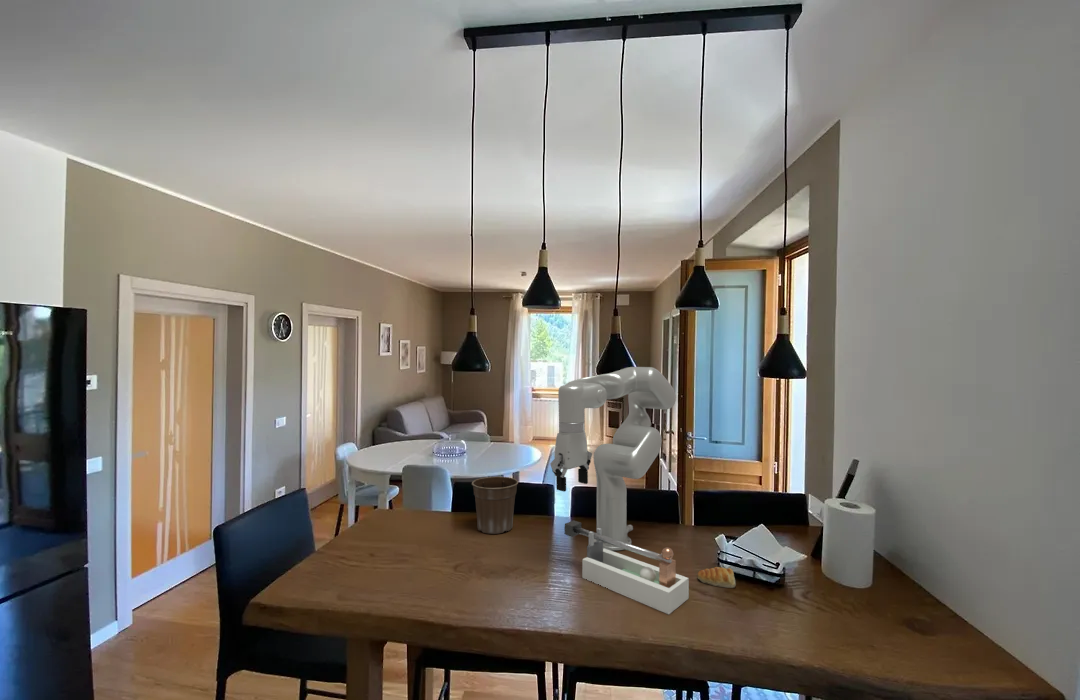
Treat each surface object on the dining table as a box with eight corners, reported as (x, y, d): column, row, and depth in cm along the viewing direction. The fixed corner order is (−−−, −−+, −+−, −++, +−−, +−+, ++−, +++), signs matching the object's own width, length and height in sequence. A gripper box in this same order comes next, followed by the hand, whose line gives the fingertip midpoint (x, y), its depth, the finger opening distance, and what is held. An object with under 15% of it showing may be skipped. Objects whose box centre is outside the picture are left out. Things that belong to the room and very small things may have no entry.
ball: (644, 578, 118) (644, 562, 118) (658, 583, 116) (658, 567, 116) (636, 583, 115) (636, 567, 116) (650, 589, 113) (650, 572, 113)
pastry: (699, 586, 120) (699, 571, 120) (695, 574, 126) (695, 560, 126) (737, 590, 118) (737, 575, 118) (731, 578, 125) (731, 563, 125)
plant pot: (472, 520, 167) (472, 476, 168) (516, 519, 169) (516, 475, 169) (470, 537, 151) (470, 488, 151) (519, 536, 153) (519, 487, 153)
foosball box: (604, 565, 131) (604, 525, 131) (688, 598, 113) (688, 551, 113) (582, 577, 124) (582, 534, 124) (668, 614, 106) (668, 564, 106)
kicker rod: (573, 549, 135) (573, 515, 135) (677, 587, 112) (677, 546, 113) (564, 553, 132) (564, 518, 132) (668, 594, 109) (668, 552, 109)
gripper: (580, 422, 142) (581, 478, 142) (541, 430, 129) (542, 490, 129) (600, 425, 136) (600, 482, 136) (561, 433, 124) (562, 496, 124)
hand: (572, 486), depth 133 cm, fingers open, 9 cm apart
